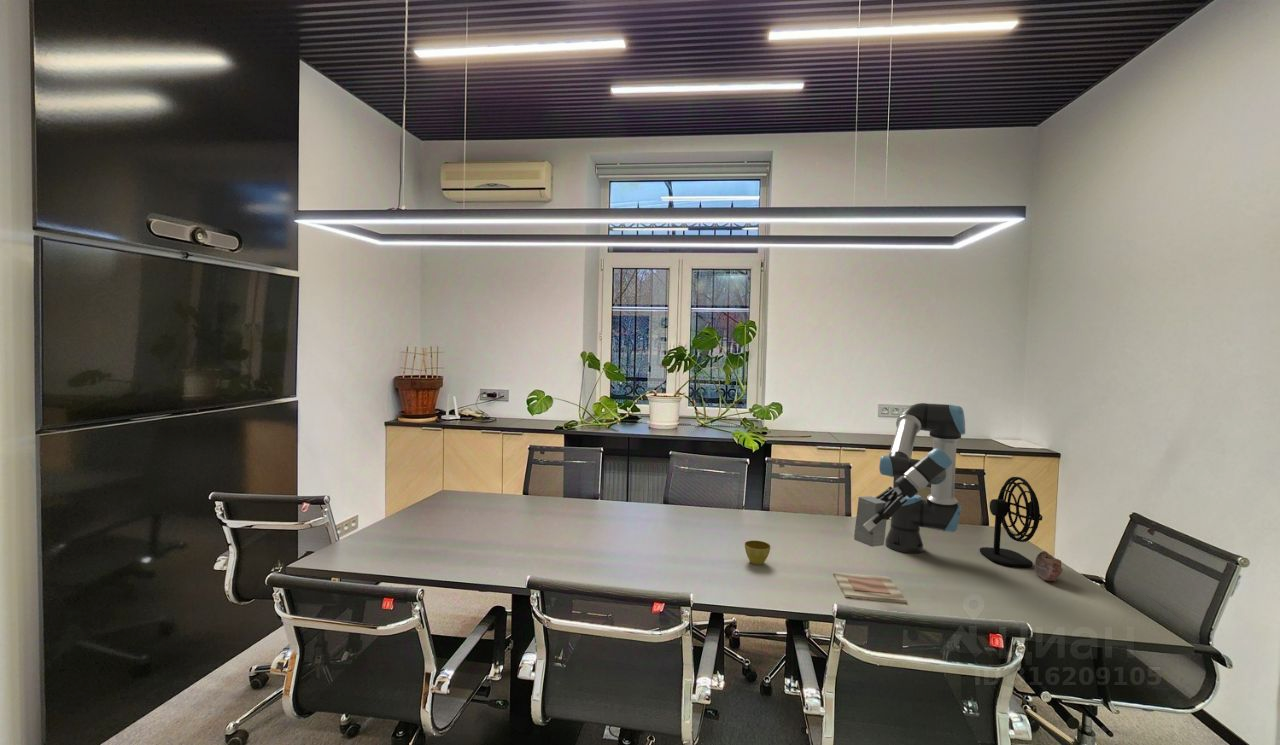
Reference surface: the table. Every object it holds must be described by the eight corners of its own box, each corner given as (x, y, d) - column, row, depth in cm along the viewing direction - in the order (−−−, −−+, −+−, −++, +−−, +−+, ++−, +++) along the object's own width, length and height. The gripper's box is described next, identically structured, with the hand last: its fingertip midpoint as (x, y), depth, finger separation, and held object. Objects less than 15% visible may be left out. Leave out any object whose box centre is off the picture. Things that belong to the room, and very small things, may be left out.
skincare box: (853, 540, 200) (855, 496, 200) (867, 538, 203) (870, 495, 203) (872, 547, 193) (874, 502, 192) (886, 545, 196) (889, 501, 195)
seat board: (833, 574, 210) (833, 571, 210) (888, 579, 207) (888, 576, 207) (845, 597, 190) (845, 593, 190) (906, 603, 187) (906, 599, 187)
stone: (1031, 572, 220) (1033, 547, 220) (1056, 574, 218) (1057, 549, 218) (1046, 584, 208) (1048, 558, 208) (1072, 587, 206) (1074, 561, 206)
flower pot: (770, 568, 214) (771, 550, 214) (743, 565, 216) (744, 547, 216) (769, 559, 224) (770, 541, 224) (744, 556, 226) (744, 539, 226)
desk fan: (1050, 573, 219) (1055, 486, 218) (1002, 570, 221) (1007, 483, 220) (1012, 550, 246) (1017, 471, 245) (970, 547, 248) (974, 469, 247)
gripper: (930, 499, 184) (878, 542, 187) (907, 484, 206) (861, 522, 209) (914, 482, 185) (862, 525, 187) (893, 468, 207) (847, 507, 210)
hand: (861, 523), depth 198 cm, fingers closed on skincare box, 10 cm apart
